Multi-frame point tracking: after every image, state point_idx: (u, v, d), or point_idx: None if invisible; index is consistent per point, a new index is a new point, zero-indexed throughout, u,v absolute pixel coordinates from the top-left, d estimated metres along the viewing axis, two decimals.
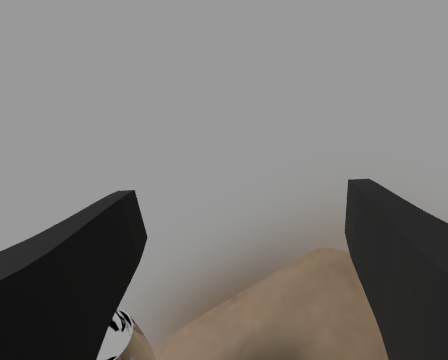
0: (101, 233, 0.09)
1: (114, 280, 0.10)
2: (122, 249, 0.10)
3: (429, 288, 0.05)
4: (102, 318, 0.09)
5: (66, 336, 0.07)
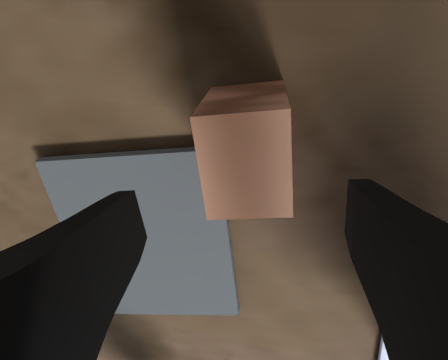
0: (101, 233, 0.09)
1: (114, 280, 0.10)
2: (122, 249, 0.10)
3: (429, 288, 0.05)
4: (102, 318, 0.09)
5: (66, 336, 0.07)
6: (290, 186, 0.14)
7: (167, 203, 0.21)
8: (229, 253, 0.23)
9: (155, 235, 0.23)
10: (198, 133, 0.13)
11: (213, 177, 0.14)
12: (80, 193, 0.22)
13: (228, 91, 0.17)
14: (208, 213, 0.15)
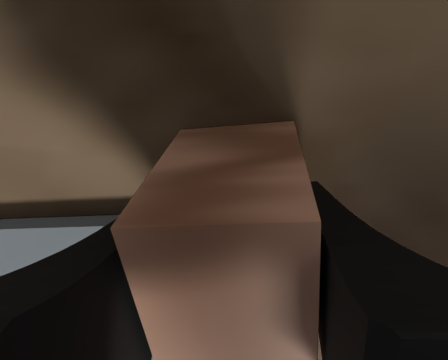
0: None
1: None
2: None
3: (334, 288, 0.06)
4: None
5: (128, 337, 0.07)
6: (313, 347, 0.07)
7: None
8: None
9: None
10: (130, 256, 0.07)
11: (167, 326, 0.07)
12: None
13: (203, 144, 0.10)
14: None
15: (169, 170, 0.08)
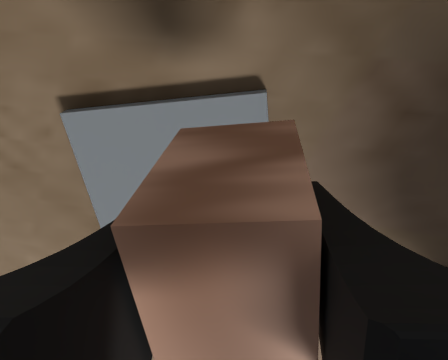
0: None
1: None
2: None
3: (334, 288, 0.06)
4: None
5: (128, 337, 0.07)
6: (314, 346, 0.07)
7: None
8: None
9: None
10: (130, 254, 0.07)
11: (167, 324, 0.07)
12: (109, 149, 0.20)
13: (204, 143, 0.10)
14: None
15: (169, 169, 0.08)
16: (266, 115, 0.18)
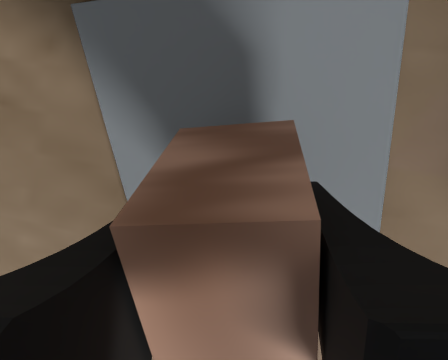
0: None
1: None
2: None
3: (334, 288, 0.06)
4: None
5: (128, 338, 0.07)
6: (313, 346, 0.07)
7: (296, 79, 0.12)
8: (385, 173, 0.14)
9: None
10: (129, 255, 0.07)
11: (166, 324, 0.07)
12: (145, 66, 0.13)
13: (203, 143, 0.10)
14: None
15: (168, 169, 0.08)
16: None
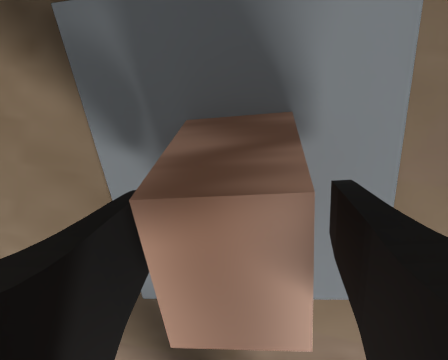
0: (118, 233, 0.09)
1: (130, 280, 0.10)
2: (137, 249, 0.10)
3: (397, 288, 0.06)
4: (119, 319, 0.09)
5: (86, 336, 0.07)
6: (309, 310, 0.08)
7: (298, 85, 0.11)
8: (394, 186, 0.13)
9: None
10: (146, 226, 0.07)
11: (177, 292, 0.08)
12: (134, 71, 0.12)
13: (208, 132, 0.11)
14: (172, 339, 0.09)
15: (178, 154, 0.09)
16: None
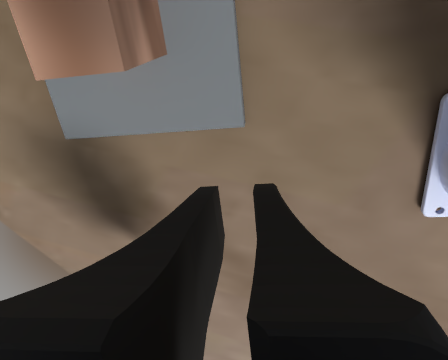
0: (202, 230, 0.09)
1: (209, 280, 0.09)
2: (213, 247, 0.10)
3: None
4: (203, 320, 0.09)
5: (188, 339, 0.07)
6: (112, 28, 0.12)
7: None
8: (232, 12, 0.17)
9: None
10: None
11: (28, 20, 0.13)
12: None
13: None
14: (35, 71, 0.13)
15: None
16: None
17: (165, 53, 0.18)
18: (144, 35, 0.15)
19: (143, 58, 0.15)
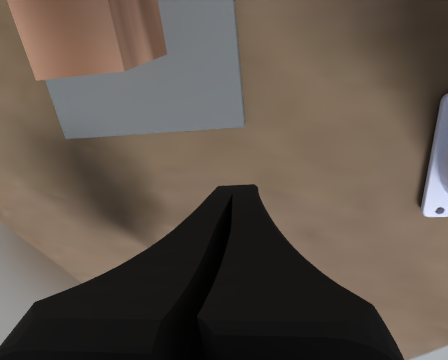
0: (225, 230, 0.09)
1: None
2: None
3: None
4: None
5: None
6: (112, 28, 0.12)
7: None
8: (232, 12, 0.17)
9: None
10: None
11: (28, 20, 0.13)
12: None
13: None
14: (35, 71, 0.13)
15: None
16: None
17: (165, 53, 0.18)
18: (144, 35, 0.15)
19: (143, 58, 0.15)
